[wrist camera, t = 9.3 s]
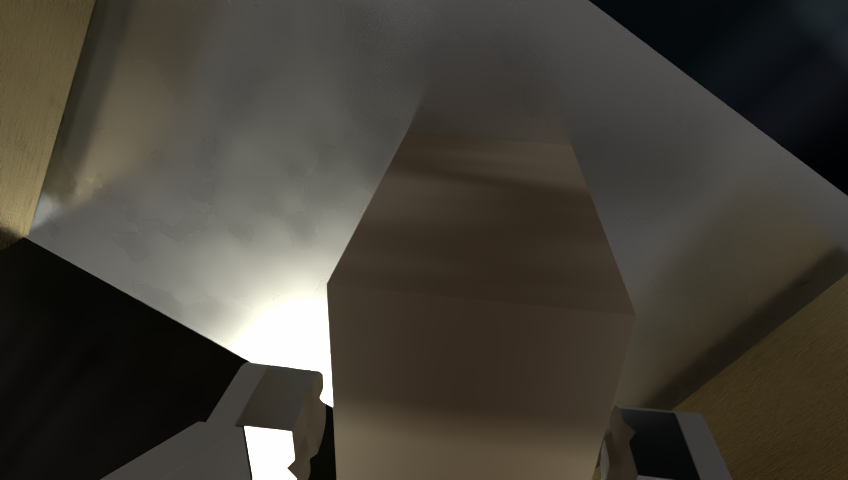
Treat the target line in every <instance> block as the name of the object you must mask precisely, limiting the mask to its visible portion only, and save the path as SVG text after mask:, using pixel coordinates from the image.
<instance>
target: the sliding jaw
mask: <svg viewBox="0 0 848 480" xmlns="http://www.w3.org/2000/svg"><path fill="white" fill-rule="evenodd" d="M95 1H96V0H0V251H1V250H3V249H4V248H6V247H8V246H9V245H11V244H13V243H14V242H16V241H18V240H20V239H21V238H23V237H25V236H26V235H28V233H29V230H30V227H31V223H32V220H33V216H34V213H35V209H36V206H37V202H38V199H39V195H40V192H41V188H42V185H43V181H44V178H45V174H46V171H47V167H48V164H49V160H50V157H51V154H52V150H53V147H54V143H55V140H56V136H57V133H58V129H59V126H60V122H61V119H62V115H63V112H64V108H65V105H66V101H67V98H68V94H69V91H70V88H71V84H72V81H73V77H74V74H75V70H76V67H77V63H78V60H79V56H80V53H81V49H82V46H83V42H84V39H85V35H86V32H87V28H88V25H89V21H90V18H91V15H92V11H93V8H94V4H95Z"/></svg>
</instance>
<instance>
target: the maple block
mask: <svg viewBox="0 0 848 480" xmlns="http://www.w3.org/2000/svg"><path fill="white" fill-rule="evenodd" d="M327 303H328V322H329V341H330V360H331V379H332V398H333V416H334V435H335V454H336V473H337V480H592V477H593V474H594V470H595V466H596V463H597V459H598V455H599V452H600V448H601V444H602V441H603V437H604V433H605V430H606V426H607V422H608V419H609V415H610V411H611V408H612V404H613V400H614V397H615V393H616V389H617V386H618V382H619V378H620V375H621V371H622V367H623V364H624V360H625V356H626V353H627V349H628V345H629V342H630V338H631V334H632V331H633V327H634V323H635V320H636V313H635V310H634V308H633V305H632V303H631V300H630V297H629V295H628V292H627V289H626V287H625V284H624V282H623V279H622V276H621V274H620V271H619V268H618V266H617V263H616V261H615V258H614V255H613V253H612V250H611V248H610V245H609V242H608V240H607V237H606V234H605V232H604V229H603V227H602V224H601V221H600V219H599V216H598V213H597V211H596V208H595V206H594V203H593V200H592V198H591V195H590V193H589V190H588V187H587V185H586V182H585V179H584V177H583V174H582V172H581V169H580V166H579V164H578V161H577V158H576V156H575V153H574V151H573V148H572V145H561V144H548V143H535V142H521V141H508V140H495V139H481V138H468V137H455V136H441V135H428V134H415V133H406V134H405V136H404V138H403V140H402V142H401V144H400V146H399V148H398V149H397V151H396V153H395V155H394V157H393V159H392V161H391V163H390V165H389V167H388V168H387V170H386V172H385V174H384V176H383V178H382V180H381V182H380V184H379V186H378V187H377V189H376V191H375V193H374V195H373V197H372V199H371V201H370V203H369V205H368V206H367V208H366V210H365V212H364V214H363V216H362V218H361V220H360V222H359V224H358V225H357V227H356V229H355V231H354V233H353V235H352V237H351V239H350V241H349V243H348V244H347V246H346V248H345V250H344V252H343V254H342V256H341V258H340V260H339V262H338V263H337V265H336V267H335V269H334V271H333V273H332V275H331V277H330V279H329V281H328V282H327Z"/></svg>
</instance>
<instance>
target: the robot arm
mask: <svg viewBox="0 0 848 480" xmlns="http://www.w3.org/2000/svg"><path fill="white" fill-rule="evenodd" d="M323 389H324V380H323V374H322V373H321V372H320V371H314V370H307V369H299V368H292V367H285V366H278V365H266V364H259V363H253V362H247V363H245V364H244V365H243V366H241V368H240V369H239V371H238V373H237V374H236V376H235V377H234V379H233V380H232V382H231V384H230V385H229V387H228V388H227V390H226V391H225V393H224V395H223V396H222V398H221V399H220V401H219V403H218V404H217V406H216V407H215V409H214V410H213V412H212V414H211V415H210V417H209V418H208V420H207V421H206V422H197V423H195V424H194V425H192V426H190V427H189V428H187V429H185V430H183V431H182V432H180V433H178V434H177V435H175V436H173V437H172V438H170V439H168V440H167V441H165V442H163V443H161V444H160V445H158V446H156V447H155V448H153V449H151V450H150V451H148V452H146V453H144V454H143V455H141V456H139V457H138V458H136V459H134V460H133V461H131V462H129V463H128V464H126V465H124V466H122V467H121V468H119V469H117V470H116V471H114V472H112V473H111V474H109V475H107V476H105V477H104V478H102V479H100V480H308V478H309V475H310V460H309V459H310V458H311V457H313V456H314V455H315V454H317V453H318V450H319V447H320V444H321V441H322V437H323V432H324V428H325V418H326V408H325V403H324V402H323V401H322V400H321V398H320V396H321V394H322V391H323ZM609 423H610V427H611V431H612V432H611V433H610V434H608V435H607V436H606V437H604V441H603V445H602V449H601V462H600V468H601V479H602V480H732V477H731V475H730V473H729V471H728V469H727V466H726V464H725V462H724V460H723V458H722V455H721V453H720V451H719V449H718V447H717V445H716V442H715V440H714V438H713V436H712V434H711V431H710V429H709V427H708V425H707V423H706V421H705V418H704V417H703V416H702V415H701V414H700V413H691V412H681V411H668V410H658V409H649V408H640V407H630V406H621V405H615V406H614V408H613V409H612V411H611V415H610V418H609Z"/></svg>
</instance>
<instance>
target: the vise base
mask: <svg viewBox="0 0 848 480" xmlns="http://www.w3.org/2000/svg"><path fill="white" fill-rule="evenodd" d="M406 133H415V134H428V135H441V136H455V137H468V138H481V139H495V140H508V141H521V142H535V143H548V144H561V145H572V148H573V151H574V153H575V156H576V158H577V161H578V164H579V166H580V169H581V172H582V174H583V177H584V179H585V182H586V185H587V187H588V190H589V193H590V195H591V198H592V200H593V203H594V206H595V208H596V211H597V213H598V216H599V219H600V221H601V224H602V227H603V229H604V232H605V234H606V237H607V240H608V242H609V245H610V248H611V250H612V253H613V255H614V258H615V261H616V263H617V266H618V268H619V271H620V274H621V276H622V279H623V282H624V284H625V287H626V289H627V292H628V295H629V297H630V300H631V303H632V305H633V308H634V310H635V313H636V320H635V323H634V327H633V331H632V334H631V338H630V342H629V345H628V349H627V353H626V356H625V360H624V364H623V367H622V371H621V375H620V378H619V382H618V386H617V389H616V393H615V397H614V400H613V404H612V408H611V411H612V409H613V408H614V406H615V405H621V406H630V407H640V408H649V409H658V410H668V411H681V412H691V413H700V414H701V415H702V416H703V417H704V418H705V421H706V423H707V425H708V427H709V429H710V431H711V434H712V436H713V438H714V440H715V442H716V445H717V447H718V449H719V451H720V453H721V455H722V458H723V460H724V462H725V464H726V466H727V469H728V471H729V473H730V475H731V477H732V480H848V196H847V195H845V194H844V193H843V192H841V191H840V190H839V189H837V188H836V187H835V186H833V185H832V184H831V183H829V182H828V181H827V180H825V179H824V178H823V177H822V176H820V175H819V174H818V173H816V172H815V171H814V170H812V169H811V168H810V167H808V166H807V165H806V164H804V163H803V162H802V161H800V160H799V159H798V158H796V157H795V156H794V155H792V154H791V153H790V152H788V151H787V150H786V149H784V148H783V147H782V146H781V145H779V144H778V143H777V142H775V141H774V140H773V139H771V138H770V137H769V136H767V135H766V134H765V133H763V132H762V131H761V130H759V129H758V128H757V127H755V126H754V125H753V124H751V123H750V122H749V121H747V120H746V119H745V118H743V117H742V116H741V115H740V114H738V113H737V112H736V111H734V110H733V109H732V108H730V107H729V106H728V105H726V104H725V103H724V102H722V101H721V100H720V99H718V98H717V97H716V96H714V95H713V94H712V93H710V92H709V91H708V90H706V89H705V88H704V87H702V86H701V85H700V84H699V83H697V82H696V81H695V80H693V79H692V78H691V77H689V76H688V75H687V74H685V73H684V72H683V71H681V70H680V69H679V68H677V67H676V66H675V65H673V64H672V63H671V62H669V61H668V60H667V59H665V58H664V57H663V56H662V55H660V54H659V53H658V52H656V51H655V50H654V49H652V48H651V47H650V46H648V45H647V44H646V43H644V42H643V41H642V40H640V39H639V38H638V37H636V36H635V35H634V34H632V33H631V32H630V31H628V30H627V29H626V28H624V27H623V26H622V25H621V24H619V23H618V22H617V21H615V20H614V19H613V18H611V17H610V16H609V15H607V14H606V13H605V12H603V11H602V10H601V9H599V8H598V7H597V6H595V5H594V4H593V3H591V2H590V1H589V0H96V1H95V4H94V8H93V11H92V15H91V18H90V21H89V25H88V28H87V32H86V35H85V39H84V42H83V46H82V49H81V53H80V56H79V60H78V63H77V67H76V70H75V74H74V77H73V81H72V84H71V88H70V91H69V94H68V98H67V101H66V105H65V108H64V112H63V115H62V119H61V122H60V126H59V129H58V133H57V136H56V140H55V143H54V147H53V150H52V154H51V157H50V160H49V164H48V167H47V171H46V174H45V178H44V181H43V185H42V188H41V192H40V195H39V199H38V202H37V206H36V209H35V213H34V216H33V220H32V223H31V227H30V230H29V233H28V235H26V236H25V237H26V238H28V239H29V240H31V241H33V242H35V243H37V244H38V245H40V246H42V247H44V248H46V249H47V250H49V251H51V252H53V253H55V254H57V255H58V256H60V257H62V258H64V259H66V260H67V261H69V262H71V263H73V264H75V265H76V266H78V267H80V268H82V269H84V270H85V271H87V272H89V273H91V274H93V275H95V276H96V277H98V278H100V279H102V280H104V281H105V282H107V283H109V284H111V285H113V286H114V287H116V288H118V289H120V290H122V291H124V292H125V293H127V294H129V295H131V296H133V297H134V298H136V299H138V300H140V301H142V302H143V303H145V304H147V305H149V306H151V307H152V308H154V309H156V310H158V311H160V312H162V313H163V314H165V315H167V316H169V317H171V318H172V319H174V320H176V321H178V322H180V323H181V324H183V325H185V326H187V327H189V328H190V329H192V330H194V331H196V332H198V333H200V334H201V335H203V336H205V337H207V338H209V339H210V340H212V341H214V342H216V343H218V344H219V345H221V346H223V347H225V348H227V349H229V350H230V351H232V352H234V353H236V354H238V355H239V356H241V357H243V358H245V359H247V360H248V361H250V362H253V363H259V364H266V365H278V366H285V367H292V368H299V369H307V370H314V371H320V372H321V373H322V374H323V380H324V389H323V391H322V394H321V396H320V398H321V400H322V401H323V402H324V403H326V404H328V405H330V406H332V407H333V398H332V379H331V360H330V341H329V322H328V303H327V282H328V281H329V279H330V277H331V275H332V273H333V271H334V269H335V267H336V265H337V263H338V262H339V260H340V258H341V256H342V254H343V252H344V250H345V248H346V246H347V244H348V243H349V241H350V239H351V237H352V235H353V233H354V231H355V229H356V227H357V225H358V224H359V222H360V220H361V218H362V216H363V214H364V212H365V210H366V208H367V206H368V205H369V203H370V201H371V199H372V197H373V195H374V193H375V191H376V189H377V187H378V186H379V184H380V182H381V180H382V178H383V176H384V174H385V172H386V170H387V168H388V167H389V165H390V163H391V161H392V159H393V157H394V155H395V153H396V151H397V149H398V148H399V146H400V144H401V142H402V140H403V138H404V136H405V134H406ZM611 411H610V415H611ZM610 415H609V418H610ZM611 432H612V431H611V427H610V423H609V419H608V422H607V426H606V430H605V433H604V437H606V436H607V435H608V434H610V433H611ZM604 437H603V441H604ZM603 441H602V444H601V448H600V452H599V455H598V459H597V463H596V466H595V470H594V474H593V477H592V480H602V479H601V468H600V462H601V449H602V445H603Z"/></svg>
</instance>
